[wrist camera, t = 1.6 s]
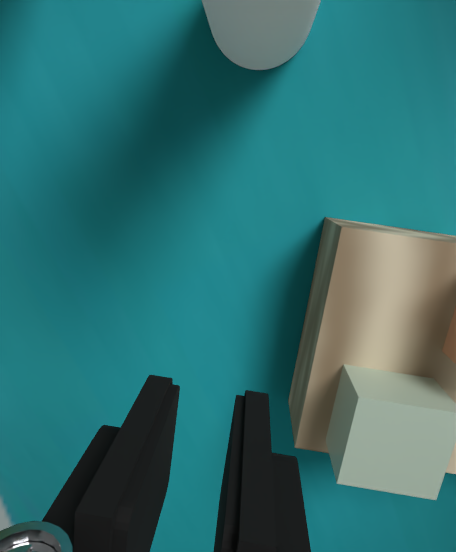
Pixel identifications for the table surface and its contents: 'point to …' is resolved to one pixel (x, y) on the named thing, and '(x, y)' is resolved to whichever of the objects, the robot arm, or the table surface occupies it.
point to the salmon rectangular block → (451, 340)
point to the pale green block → (391, 432)
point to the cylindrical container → (260, 29)
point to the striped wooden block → (372, 317)
